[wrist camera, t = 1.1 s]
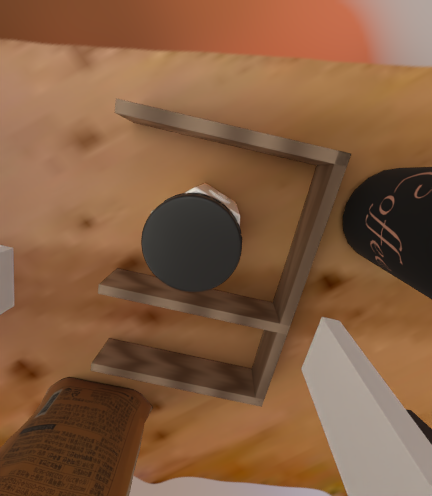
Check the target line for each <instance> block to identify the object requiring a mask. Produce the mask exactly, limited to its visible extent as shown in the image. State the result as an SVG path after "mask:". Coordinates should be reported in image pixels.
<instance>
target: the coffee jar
mask: <svg viewBox="0 0 432 496" xmlns="http://www.w3.org/2000/svg"><path fill="white" fill-rule="evenodd" d="M343 231H344V234H345V236H346V239H347V241H348V244H349V245H350V246H351V247H352V248H353V249H354V250H355V251H356V252H357V253H358V254H360V255H361V256H363V257H365V258H366V259H368V260H369V261H371V262H373V263H374V264H376V265H377V266H379V267H381V268H382V269H384V270H386V271H387V272H389V273H390V274H392V275H394V276H395V277H397V278H398V279H400V280H402V281H403V282H405V283H406V284H408V285H410V286H411V287H413V288H414V289H416V290H418V291H419V292H421V293H422V294H424V295H426V296H427V297H429V298H431V299H432V167H419V168H396V169H390V170H384V171H382V172H380V173H378V174H376V175H374V176H372V177H370V178H368V179H367V180H366V181H365V182H363V183H362V184H361V185H360V186H359V187H358V188H357V189H355V191H354V192H353V194H352V195H351V197H350V199H349V200H348V202H347V204H346V207H345V211H344V214H343Z"/></svg>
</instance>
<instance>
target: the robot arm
mask: <svg viewBox="0 0 432 496" xmlns="http://www.w3.org/2000/svg"><path fill="white" fill-rule="evenodd" d="M13 306H14V255H13V248H12V247H7V246H3V245H0V314H2V313H4V312H5V311H7V310H9V309H10V308H12V307H13ZM302 372H303V375H304V377H305V380H306V383H307V386H308V388H309V391H310V394H311V397H312V399H313V402H314V405H315V407H316V410H317V413H318V416H319V418H320V421H321V424H322V426H323V429H324V432H325V435H326V437H327V440H328V443H329V445H330V448H331V451H332V454H333V456H334V459H335V462H336V465H337V467H338V470H339V473H340V475H341V478H342V481H343V484H344V486H345V489H346V492H347V494H348V496H432V429H431V428H430V427H429V426H428V425H427V424H425V423H424V422H423V421H422V420H421V419H420V418H419V417H418V416H417V415H416V414H415V413H413V412H412V411H411V410H406V409H405V408H404V407H403V405H402V404H401V403H400V401H399V400H398V399H397V397H396V396H395V395H394V393H393V392H392V391H391V389H390V388H389V387H388V385H387V384H386V383H385V381H384V380H383V379H382V377H381V376H380V375H379V373H378V372H377V370H376V369H375V368H374V366H373V365H372V364H371V362H370V361H369V360H368V358H367V357H366V356H365V354H364V353H363V352H362V350H361V349H360V348H359V346H358V345H357V344H356V342H355V341H354V340H353V338H352V337H351V336H350V334H349V333H348V331H347V330H346V329H345V327H344V326H343V325H342V323H341V322H340V321H338V320H334V319H329V318H325V317H322V318H321V320H320V323H319V325H318V328H317V331H316V333H315V336H314V338H313V341H312V343H311V346H310V348H309V351H308V353H307V356H306V358H305V361H304V364H303V366H302Z"/></svg>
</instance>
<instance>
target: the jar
mask: <svg viewBox="0 0 432 496" xmlns="http://www.w3.org/2000/svg"><path fill="white" fill-rule="evenodd" d="M141 244H142V252H143V256H144V258H145V261H146V263H147V265H148V267H149V268H150V270H151V271H152V273H153V274H154V275H155V276H156V277H157V278H158V279H159V280H161V281H162V282H163V283H165V284H166V285H168V286H170V287H172V288H175V289H177V290H181V291H186V292H201V291H206V290H210V289H212V288H215V287H217V286H218V285H220V284H222V283H223V282H224V281H226V280H227V279H228V278H229V277H230V276H231V274H232V273H233V272H234V270H235V269H236V267H237V265H238V262H239V260H240V256H241V251H242V235H241V230H240V213H239V210H238V207H237V203H236V202H234V201H233V200H231V199H230V198H228V197H227V196H225V195H224V194H222V193H220V192H219V191H217V190H216V189H214V188H213V187H211V186H210V185H208V184H207V183H203V184H201V185H198V186H196V187H194V188H192V189H190V190H189V191H187V192H185V193H183V194H178V195H175V196H173V197H171V198H168V199H167V200H165V201H164V202H163V203H162V204H160V205H159V206H158V207H157V208H156V209H154V210H152V212H151V214H150V216H149V217H148V219H147V221H146V223H145V225H144V228H143V232H142V240H141Z"/></svg>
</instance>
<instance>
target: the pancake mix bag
mask: <svg viewBox="0 0 432 496" xmlns="http://www.w3.org/2000/svg"><path fill="white" fill-rule="evenodd" d="M152 408H153V407H152V406H151V405H150V404H149V402H148V401H147V400H146V399H145V398H144V397H143V395H142V394H140V393H139V392H137V391H135V390H133V389H129V388H123V387H117V386H112V385H107V384H101V383H95V382H90V381H85V380H80V379H76V378H71V377H68V378H64V379H61V380H60V381H58V382H57V383H55V384H54V385H52V386H51V387H50V388H49V389H48V391H47V393H46V395H45V397H44V399H43V400H42V402H41V404H40V406H39V407H38V409H37V410H36V412H35V413H34V414H33V415H32V416H31V417H30V419H29V420H28V421H27V422H26V423H25V424H24V425H23V426H22V427H21V428H20V429H19V430H18V431H17V432H16V433H15V434H14V435H13V436H11V437H10V438H9V439H8V440H7V441H6V443H5V444H4V445H3V446H2V447H1V448H0V496H129V493H130V488H131V484H132V479H133V474H134V470H135V466H136V462H137V458H138V454H139V450H140V445H141V439H142V434H143V428H144V423H145V421H146V419H147V417H148V415H149V414H150V412H151V410H152Z"/></svg>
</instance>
